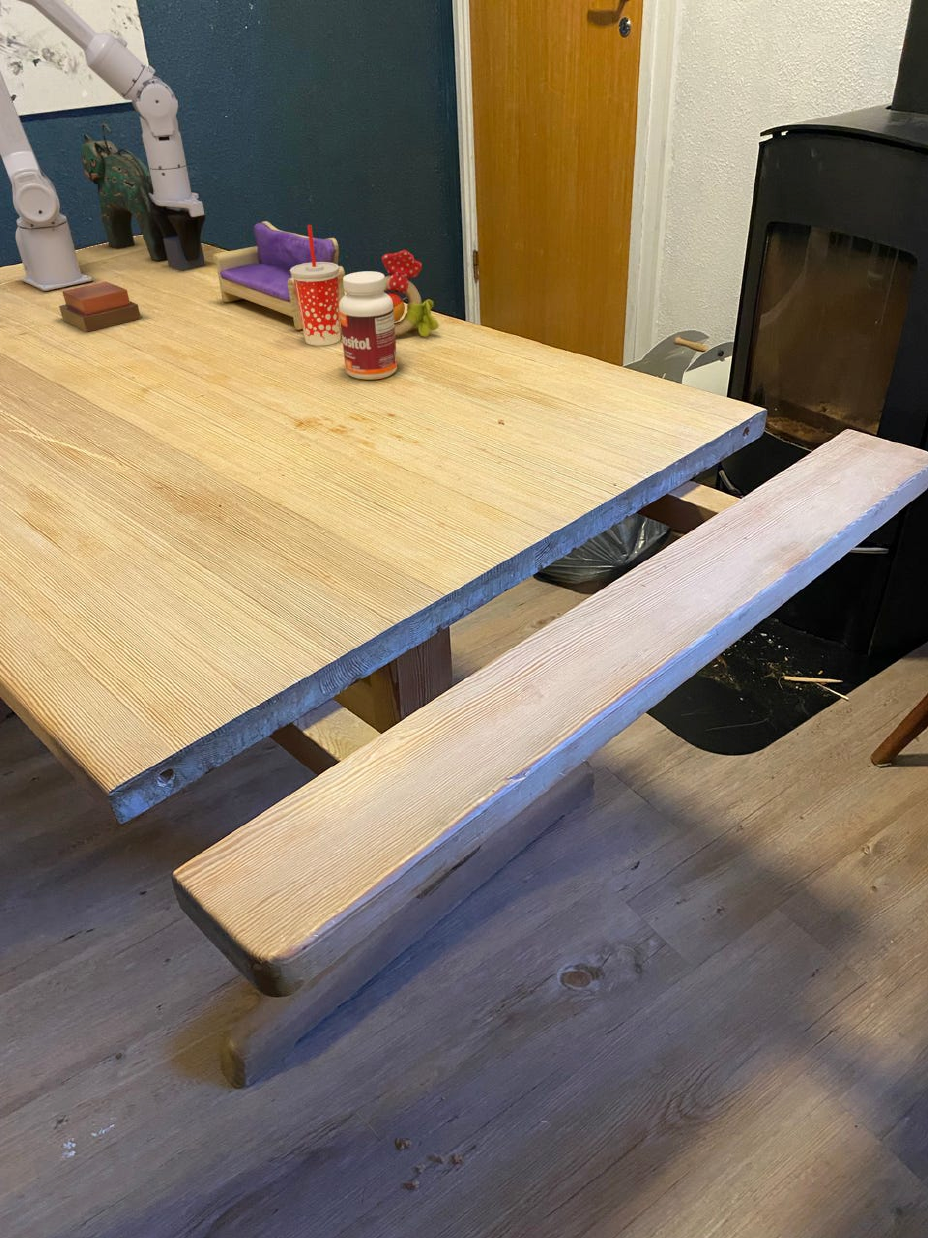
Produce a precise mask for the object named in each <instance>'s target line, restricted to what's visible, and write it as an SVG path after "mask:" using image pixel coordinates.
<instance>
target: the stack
mask: <svg viewBox="0 0 928 1238" xmlns="http://www.w3.org/2000/svg"><path fill="white" fill-rule="evenodd" d="M61 293H62V296H63V299H64V303H65V304H62V305H58V307H59V311H60V315H61V319H62V321H64V322H66V323H67V324H70V325H72V326H74V327H75V328H78V329H80V330H82V331H84V332H86V333H89V332H94V331H98V330H102V329H104V328H109V327H110V328H111V327H113V326H117V325H122V324H124V323H129V322H133V321H136V320H137V321H138V320H141V319H142V317H141V313H140V312H141V311H140V308H139V304H138V303H135V302H133V301H131V300H130V297H129V293H128V290H127V288H126V289H125V288H124V287H121V286H119V285H116V284H113V283H111V282H108V281H101V282H98V283H93V284H88V285H84V286H80V287H75V288H70V289H66V290H62V291H61Z"/></svg>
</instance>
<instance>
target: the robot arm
mask: <svg viewBox="0 0 928 1238" xmlns="http://www.w3.org/2000/svg"><path fill="white" fill-rule="evenodd" d="M17 1H18V2H21V3H24V4H27V5H30V6H32V7H33V8H34V9H36V11H38V12H39V13H40V14H42V15H43V16H44V17H45V18H46V19H47V20H48V21H49V22H51V23H52V24H53V25H54V26H55V27H57V29H58V30H60V31H61V32H62V33H63V34H65V36H66V37H68V38H69V39H70V40H72V41H73V42H74V43H75V44H76V45H77V46H78V47H80V48H81V49H82V50H83V52H84V56H85V61H86V66H87V68H89V69H90V70H91V71H92V72H93V73H94V74H95V75H97V76H98V77H99V78H100V79H101V80H102V81H104V82H105V84H107V85H108V86H109V87H110V88H111V89H112V90H113V91H114V92H116V93H117V94H118V95H119V96H120V97H122V98H123V99H124V100H125V101H131V103H132V106H133V108H134V109H135V111H136V112H137V113H138V114H140V115H139V120H140V126H141V130H142V136H141V137H142V142H143V147H144V151H145V156H146V161H147V165H148V170H149V172H150V176H151V180H152V185H153V190H154V192H153V195H152V194H151V193H148V194H149V197H150V199H151V200H152V202H154V203H155V204H156V205H157V208H156V210H153V211H150V212H149V214H150V216H151V218H152V219H153V220H154V221H155V223H156V224H157V226H158V227H159V229H160V231H161V233H162V235H163V237H164V238H169V237H173V236H178V237H179V240H180V243H181V247H182V250H183V253H184V256H185V258H186V260H187V261H191V260H196V259H199V256H200V239H201V237H202V231H203V226H204V224H205V220H206V213H205V210H204V203H203V201H200V200H198V199H199V198H200V197H199V194H198V193H197V192H192V188H191V183H190V178H189V174H188V167H187V162H186V161H187V160H186V157H185V151H184V146H183V145H184V144H183V140H182V135H181V134H182V133H181V132H180V130H179V123H178V122H179V121H178V119H177V116H176V115H177V114H178V109H179V101H178V100H177V98H176V96H175V94H174V93H175V92H174V91H173V90H172V88H171V87H170V86H169V85H168V84H167V83H165V82H163V81H162V79H161V78H159V77H158V76H155V73H156V70H155V68H154V67H152V66H151V65H148V66H147V65H146V64H144V63H143V61H142V60H140V59H139V58H138V56H136V55H135V54H134V53H133V52H132V51H131V50H130V49H128V48H127V46H128V42H127V41H126V40H125V39H124V38H123V37H122V36H118V37H117V38H116V36H114V34H113V33H111V32H96V31H95V30H94V28H92V27H91V26H90V25H89V24H88V23H87V22H86V21H85V20H84V19H83V18H82V17H81V16H80V15H79V14H78V13H77V12H75V10H74V9H73V8H71V7H70V6H69V5H68V4H67V2H65V1H64V0H17ZM0 157H1V159H2V162H3V165H4V168H5V170H6V173H7V175H8V179H9V181H10V183H11V185H12V186H11V191H12V203H13V204H12V205H13V207H14V209H15V211H16V212H17V213H16V214H17V215H19V218H17V219H16V225H17V228H16V231H15V241H16V246H17V249H18V252H19V256H20V259H21V262H22V265H23V269H24V272H25V275H26V276H22V277H20V280H21V281H22V282H24V283H26V284H28V285H31V286H33V287H35V288H37V289H39V290H41V291H43V292H48V291H52V290H55V289H61V288H65V287H71V286H75V285H79V284H84V283H88V282H92V281H93V277H92V276H89V275H87V274H84V273H82V271H81V267H80V264H79V260H78V256H77V252H76V248H75V245H74V241H73V237H72V234H71V230H70V226H69V222H68V218H67V216H66V215H64V214H62V213H61V212H60V208H61V205H60V200H59V196H58V193H57V190H56V187H55V185H54V183H53V181H52V180H51V179H50V178H49V177H48V176H47V175H46V174H45V173H44V172H43V171H42V169H41V167H40V164H39V161H38V159H37V157H36V154H35V153H34V150H33V148H32V146H31V143H30V141H29V138H28V136H27V134H26V130H25V128H24V126H23V124H22V121H21V118H20V116H19V114H18V111H17V108H16V106H15V103H14V101H13V99H12V97H11V94H10V91H9V89H8V87H7V85H6V82H5V80H4V77H3V74H2V72H1V71H0Z"/></svg>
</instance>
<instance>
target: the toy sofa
mask: <svg viewBox="0 0 928 1238" xmlns="http://www.w3.org/2000/svg"><path fill="white" fill-rule="evenodd" d="M253 233H254V237H255V240H256V241H255V242H256V246H251V247H250V246H249V247H245V248H239V249H233V250H228V251H223V252H217V253H214V254H213V256H212V258H213V262H214V264H215V266H216V271H217V276H218V282H219V288H220V294H221V299H222V302H224V303H231V302H234V301H235V302H236V301H239V300H246V301H249V302H252V303H255V304H257V305H260V306H262V307H264V308H265V307H266V308H268V309H271V310H273V311H276V312H279V313H281V314H284V315H286V316H289V317H291V318H292V320H293V325H294V329H295V330H303V326H302V321H301V316H300V311H299V305H298V300H297V295H296V290H295V285H294V280H293V278H292V277H291V273H290V269H291V268H292V267H294V266H296V265H300V264H304V263H312V258H311V250H310V242H309V236H306V235H302V234H297V233H294V232H293V233H292V232H289V231H284V230H280V229H278V228H277V227H275V226H274V225H272V223H271V222H269V221H267V220H266V221H261V222H258V223H256V224H255V225H254V226H253ZM313 243H314V251H315V260H316V262H328V263H334V264H337V265H338V266H339V275H338V289H339V303H340V300H341V299H342V298H343V297H344V296H345V295H346V292H345V291H344V285H343V277H344V276H346V272H345V269H344V267H343V266H342V265H339V250H340V249H339V242H338V240H337V239H336V238H335V237H328V238H316V237H313Z"/></svg>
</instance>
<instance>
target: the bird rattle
mask: <svg viewBox="0 0 928 1238" xmlns="http://www.w3.org/2000/svg"><path fill="white" fill-rule="evenodd" d="M381 262H382V263H383V266H384V268H385V269H386V272H387V274H388V275H386V276H384V277H385V284H386V286H385V289H384V290H383V292H384V293H386V294H388V295H389V296H390V297H391V299H392V301H393V310H394V325H395V336H398V335H403V334H405V333H406V332H408V331H409V332H411V331H412V330H414V329H415V328H417V327H418V328H417V329H418V333H419V335H420V336H421V337H423V338H428V337H429V335H430V334H431V331H436V330H437V329H438V327H439V323H438V321H437V320H436V319H435V317H434V316H433V314H432V309H433V308H434V305H435V304H434V301H433V300H432V299H426V300H424V302H422V298H421V294H420V293H419V291H418V289H417V287H416V286H415V284H413V282H412V281H411V280H409V279H410V278H412V279H413V278H416V277H417V276H419V274H420V272H421V271H422V269H423V268H422V267H423V264H422V262H420V261H418V260H416V259H415V258H414V255H413V254H412V253H410V252H409V251H408V250H406V249H403V250H400V251H398V252H395V253H385V254H383V255H382V257H381ZM394 291H395V292H394ZM399 293H400V294H404V295H405V297H403V298H402V297H401V295H399ZM405 300H408V303H407V305H405V302H404V301H405ZM405 309H406V313H405ZM403 316H404V318H403ZM402 318H403V319H402Z"/></svg>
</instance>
